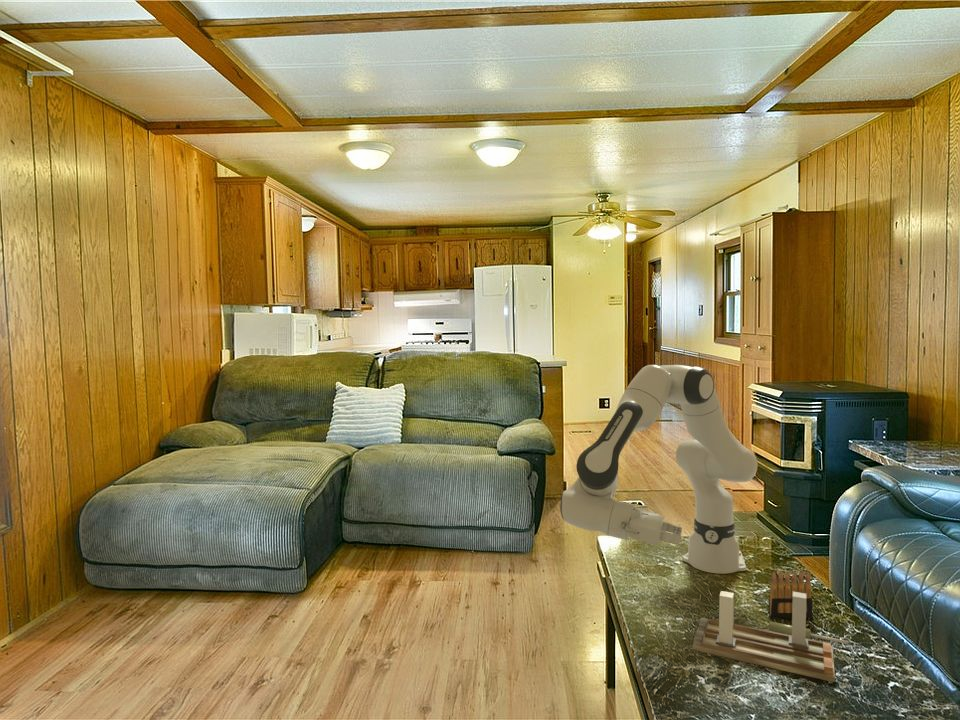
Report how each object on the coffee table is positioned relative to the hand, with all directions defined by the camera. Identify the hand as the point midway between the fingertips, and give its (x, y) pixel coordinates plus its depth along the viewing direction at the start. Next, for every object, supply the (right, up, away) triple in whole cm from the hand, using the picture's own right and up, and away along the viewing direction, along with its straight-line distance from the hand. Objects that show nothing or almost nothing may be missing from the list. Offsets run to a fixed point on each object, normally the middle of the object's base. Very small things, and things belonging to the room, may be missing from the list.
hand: (681, 535), depth 149 cm
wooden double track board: (+17, -26, -5) cm, 31 cm away
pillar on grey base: (+26, -24, -5) cm, 35 cm away
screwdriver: (+30, -25, +1) cm, 39 cm away
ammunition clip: (+32, -25, +12) cm, 42 cm away
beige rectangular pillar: (+9, -24, -4) cm, 26 cm away
